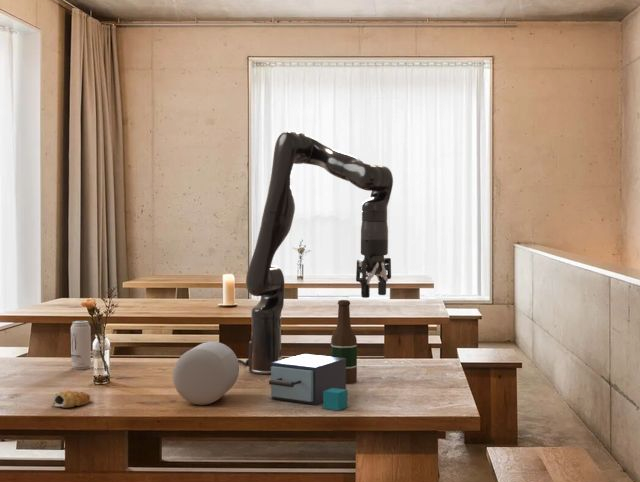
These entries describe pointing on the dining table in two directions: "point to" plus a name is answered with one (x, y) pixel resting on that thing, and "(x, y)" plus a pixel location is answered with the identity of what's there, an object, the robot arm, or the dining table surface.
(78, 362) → the energy drink can
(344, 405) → the teal cube block
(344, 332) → the beer bottle
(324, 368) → the cabinet
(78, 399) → the pastry
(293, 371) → the drawer
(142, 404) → the dining table surface
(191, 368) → the grey rounded piece
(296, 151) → the robot arm
